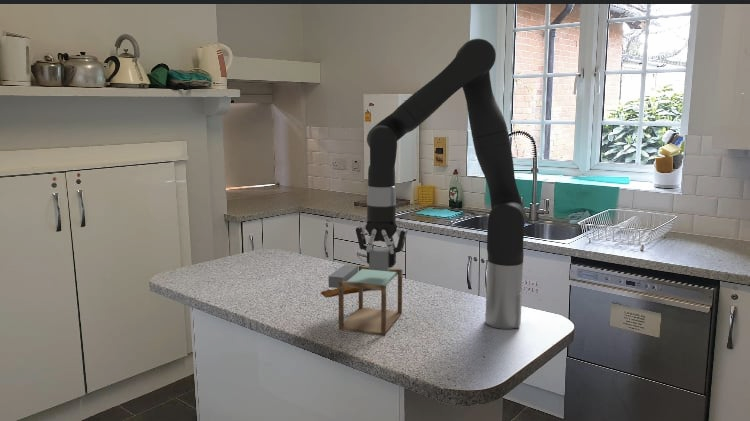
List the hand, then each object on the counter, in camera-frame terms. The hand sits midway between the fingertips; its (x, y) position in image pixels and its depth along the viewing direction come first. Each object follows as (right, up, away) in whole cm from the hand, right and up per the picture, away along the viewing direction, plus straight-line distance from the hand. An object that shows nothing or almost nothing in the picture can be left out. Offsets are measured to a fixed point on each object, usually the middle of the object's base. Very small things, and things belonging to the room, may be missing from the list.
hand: (381, 265), depth 154 cm
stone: (0, -1, 0) cm, 1 cm away
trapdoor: (-5, -5, +2) cm, 7 cm away
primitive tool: (-9, -12, +29) cm, 33 cm away
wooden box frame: (-3, -16, +3) cm, 16 cm away
